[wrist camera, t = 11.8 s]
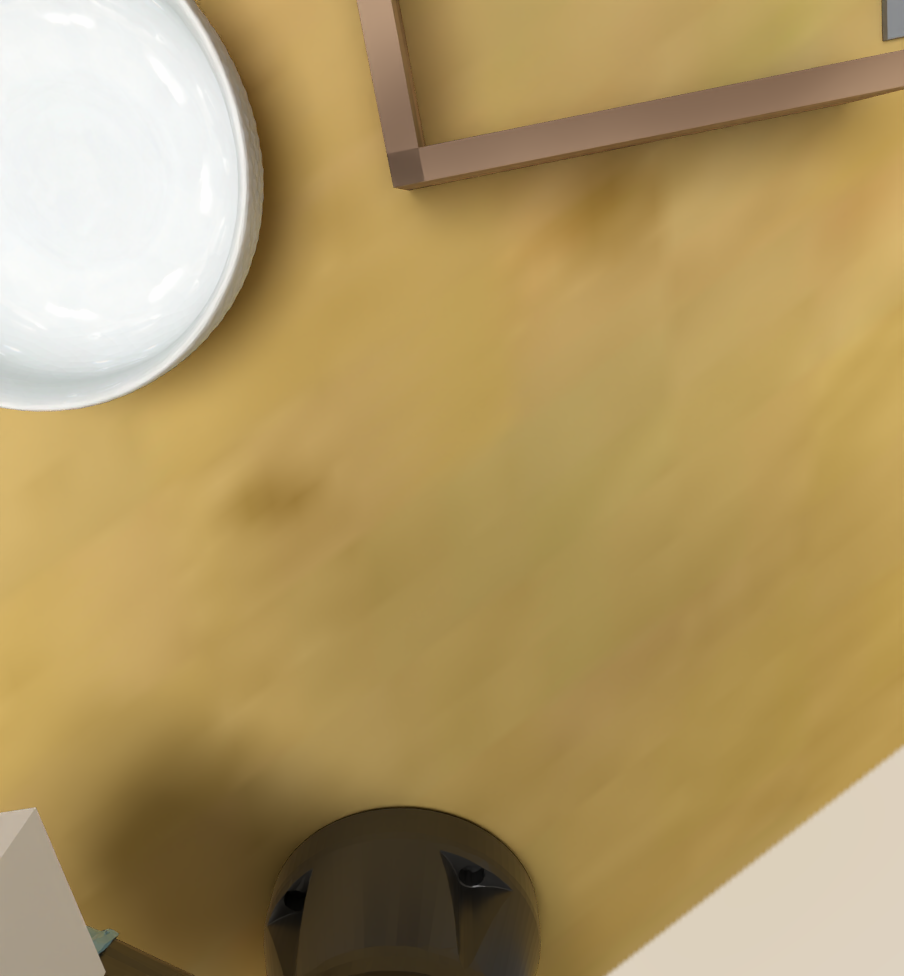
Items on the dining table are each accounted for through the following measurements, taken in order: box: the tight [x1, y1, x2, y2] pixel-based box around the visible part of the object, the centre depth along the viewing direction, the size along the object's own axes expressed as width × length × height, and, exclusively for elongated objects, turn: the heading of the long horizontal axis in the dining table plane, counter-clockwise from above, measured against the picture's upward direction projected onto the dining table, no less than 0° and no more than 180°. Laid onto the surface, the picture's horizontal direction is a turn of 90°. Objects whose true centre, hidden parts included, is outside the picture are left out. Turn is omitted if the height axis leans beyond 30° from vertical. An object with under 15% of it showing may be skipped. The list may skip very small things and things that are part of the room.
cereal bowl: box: [0, 0, 264, 411], centre depth 32 cm, size 17×17×7 cm
